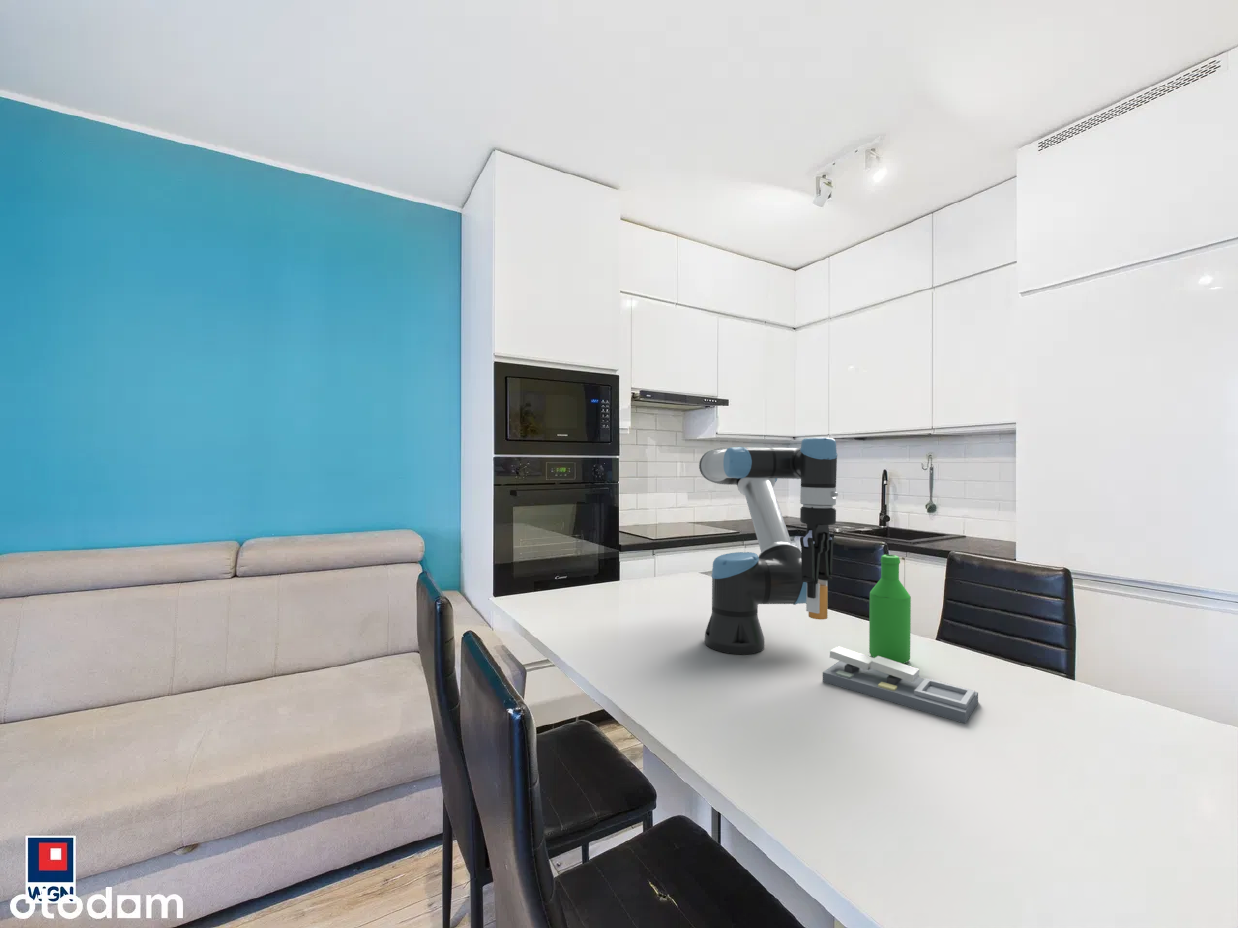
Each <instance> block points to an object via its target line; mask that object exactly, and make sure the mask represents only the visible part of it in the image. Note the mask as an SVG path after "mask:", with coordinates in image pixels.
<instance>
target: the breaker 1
mask: <svg viewBox="0 0 1238 928" xmlns="http://www.w3.org/2000/svg"><path fill="white" fill-rule="evenodd" d="M829 658H831V659H832V660H833V659H834V660H836V661H838V662H839V661H842V662H844V663H847V664H850V665H853V666H856V667H858V668H861V669H864V670H867V671H868V670H869V669H870V665H871V661H872V660H873V659H874V657H873V656H871V655H870V656H869V655H867V654H863V653H860V652H857V651H854V650H852V649H848V648H845V647H843V646H839V645H838V646H837V645H836V646H835V647H834V648H832V649H831V650H830V651H829Z"/></svg>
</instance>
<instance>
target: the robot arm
mask: <svg viewBox="0 0 1238 928" xmlns="http://www.w3.org/2000/svg"><path fill="white" fill-rule="evenodd" d="M800 444H801V445H800V447H755V446H754V447H753V446H752V447H750V446H749V447H747V446H746V447H745V446H735V447H732V446H731V447H721V448H716V449H715V448H714V449H710V450H709V451H707V452H705V453H704V454H703V455H702V456H701V457H700V460H699V463H698V469H699V472H700V475H701V476H702V477H703V478H704V479H705V480H707V481H709V482H712V483H714V484H719V485H729V486H731V485H734V486H736V487H737V490H738V491H739V493H740V494H742V495H743V496H745V500H746V504H747V506H748V507H747V508H748V511H749V514H750V518H751V521H752V525H753V527H754V528H753V529H754V532H755V536H756V539H757V542H758V545H759V550H760V554H759V555H758V554H757V553H755V552H750V551H747V552H745V551H736V552H729V553H724V554H721V555H719V556H717V557H715V558H714V560H713V562H712V569H711V615H710V617H709V620H708V623H707V626H706V629H705V632H704V644H705V645H706V646H707V647H708V648H709V649H712V650H714V651H718V652H721V653H726V654H734V655H748V654H749V655H751V654H755V653H760V652H761V651H764V649H765V636H764V632H763V629H762V626H761V623H760V620H759V614H758V613H759V610H758V607H759V605H795V606H796V605H798V604H799V605H800V604H805V605H806V607H805V611H806V612H807V613H808V612H813V613H820V584H821V585H826V586H828V581H832V580H833V576H832V574H833V557H834V556H833V555H834V542H835V541H834V540H835V533H834V532H830V527H829V526H832V525H833V526H834V525H836V523H837V509H836V508H835V507H834V506H835V505H837V497H838V496H839V494H838V492H837V469H838V468H837V466H838V465H837V464H838V453H837V441H836V440H835V438H832V437H805V438H803V439H802V440H801V443H800ZM779 479H783V480H784V479H786V480H787V479H789V480H790V479H793V480H794V479H796V480H799V479H800V492H799V493H800V495H799V496H800V497H799V498H800V500H799V501H800V502H799V504H801V505H802V506H801V507H800V513H799V518H800V520H799V521H800V523H801V524H806V530H805V536H800V537H799V544H800V548H799V547H798V546H796V545H794V544H793V543H792V540H791V537H790V535H789V531H788V529H787V526H786V523H785V519H784V516H783V513H782V511H781V508H780V505H779V502H778V498H777V496H776V493H775V490H774V486H775V484H776V483H777V480H779Z"/></svg>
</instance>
